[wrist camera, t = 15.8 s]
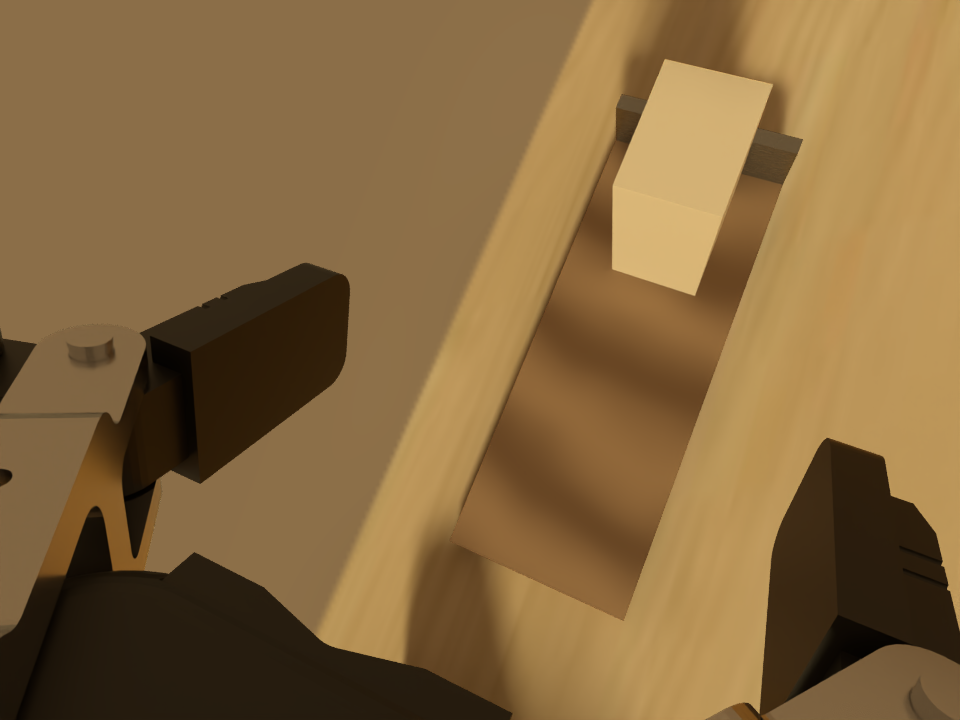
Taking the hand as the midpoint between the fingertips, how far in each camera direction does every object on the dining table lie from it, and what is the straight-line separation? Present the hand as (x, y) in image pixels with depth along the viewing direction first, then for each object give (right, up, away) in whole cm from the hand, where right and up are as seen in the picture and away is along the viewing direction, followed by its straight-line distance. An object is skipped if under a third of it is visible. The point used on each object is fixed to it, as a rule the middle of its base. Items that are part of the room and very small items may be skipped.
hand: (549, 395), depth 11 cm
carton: (+9, +7, +24) cm, 27 cm away
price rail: (+11, +12, +25) cm, 30 cm away
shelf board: (+6, +1, +25) cm, 26 cm away
